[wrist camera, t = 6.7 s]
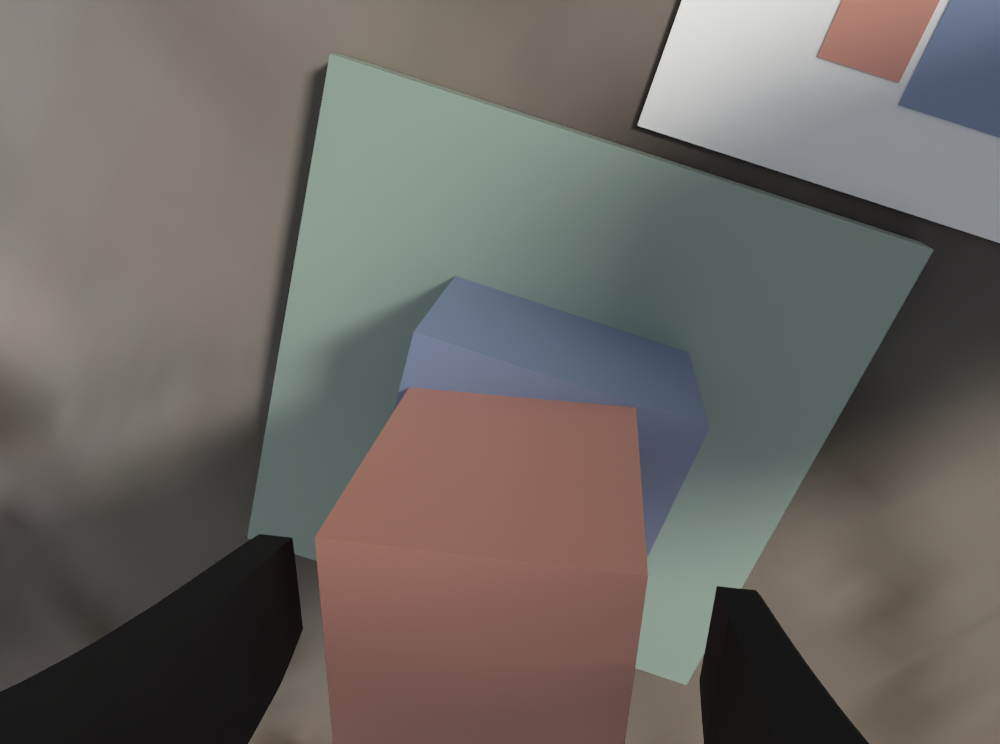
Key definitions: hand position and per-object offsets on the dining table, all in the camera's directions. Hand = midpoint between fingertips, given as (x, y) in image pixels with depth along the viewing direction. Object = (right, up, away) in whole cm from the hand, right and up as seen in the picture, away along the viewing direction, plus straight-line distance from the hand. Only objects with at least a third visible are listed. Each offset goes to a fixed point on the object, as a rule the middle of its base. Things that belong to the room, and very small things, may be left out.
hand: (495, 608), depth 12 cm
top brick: (0, +1, +3) cm, 3 cm away
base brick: (+1, +3, +7) cm, 7 cm away
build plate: (+1, +3, +7) cm, 8 cm away
